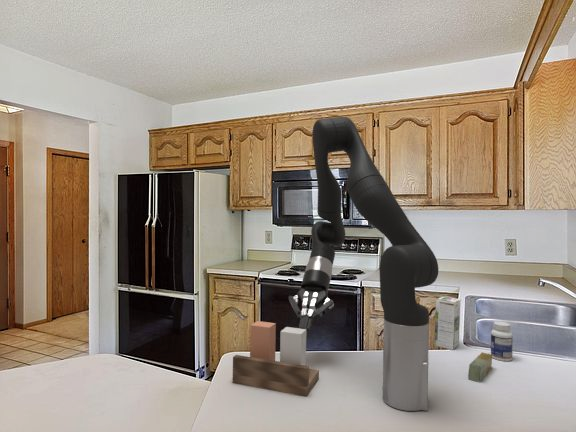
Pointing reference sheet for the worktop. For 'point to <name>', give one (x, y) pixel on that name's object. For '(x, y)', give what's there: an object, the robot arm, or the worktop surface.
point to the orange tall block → (263, 340)
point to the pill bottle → (501, 342)
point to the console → (274, 375)
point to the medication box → (480, 367)
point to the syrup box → (447, 322)
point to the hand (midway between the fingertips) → (303, 331)
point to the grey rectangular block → (293, 346)
